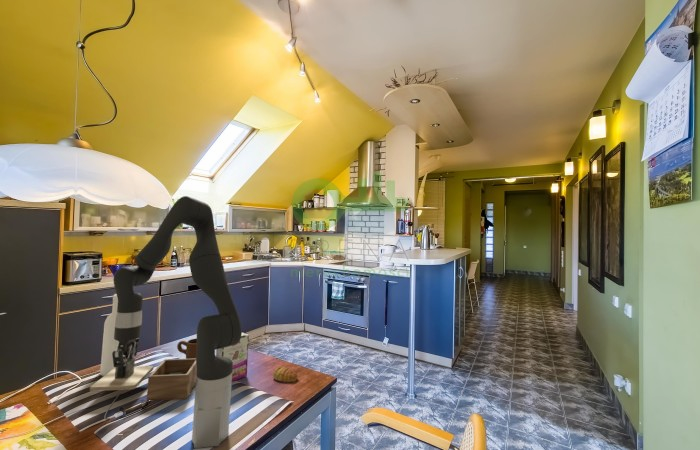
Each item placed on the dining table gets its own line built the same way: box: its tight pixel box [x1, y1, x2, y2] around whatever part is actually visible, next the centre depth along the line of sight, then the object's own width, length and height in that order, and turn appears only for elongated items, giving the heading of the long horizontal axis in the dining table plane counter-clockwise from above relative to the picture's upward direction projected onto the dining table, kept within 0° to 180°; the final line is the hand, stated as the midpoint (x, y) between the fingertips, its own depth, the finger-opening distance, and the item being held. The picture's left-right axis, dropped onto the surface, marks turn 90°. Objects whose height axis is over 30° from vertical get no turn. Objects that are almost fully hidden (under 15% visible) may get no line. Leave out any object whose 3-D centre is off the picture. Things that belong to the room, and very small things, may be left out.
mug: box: [176, 337, 197, 359], centre depth 130 cm, size 12×8×9 cm, turn 89°
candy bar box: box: [215, 332, 250, 382], centre depth 118 cm, size 11×5×16 cm, turn 143°
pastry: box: [272, 366, 299, 383], centre depth 120 cm, size 9×7×4 cm
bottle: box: [99, 293, 125, 377], centre depth 119 cm, size 8×8×30 cm
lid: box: [89, 357, 155, 392], centre depth 104 cm, size 15×13×7 cm
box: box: [146, 358, 197, 402], centre depth 108 cm, size 14×12×8 cm
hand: (124, 374), depth 104 cm, fingers closed on lid, 4 cm apart
